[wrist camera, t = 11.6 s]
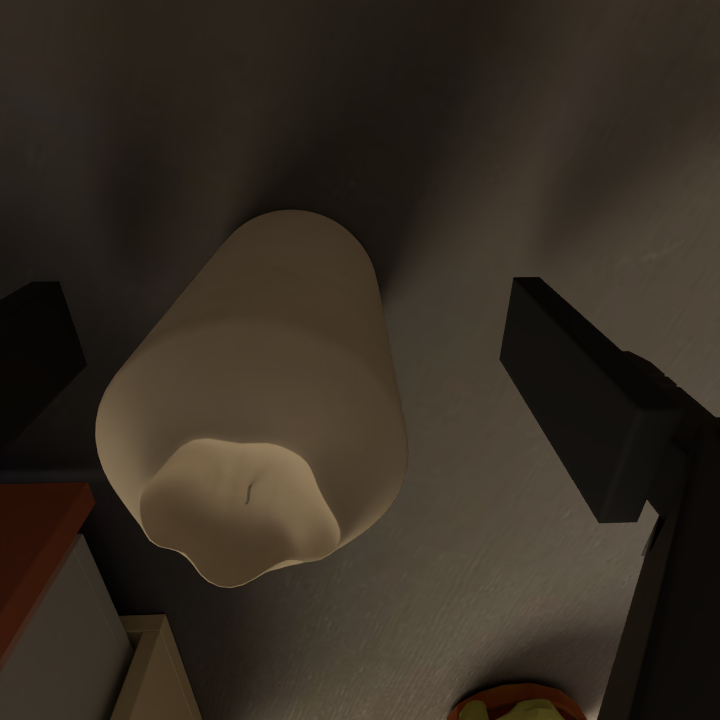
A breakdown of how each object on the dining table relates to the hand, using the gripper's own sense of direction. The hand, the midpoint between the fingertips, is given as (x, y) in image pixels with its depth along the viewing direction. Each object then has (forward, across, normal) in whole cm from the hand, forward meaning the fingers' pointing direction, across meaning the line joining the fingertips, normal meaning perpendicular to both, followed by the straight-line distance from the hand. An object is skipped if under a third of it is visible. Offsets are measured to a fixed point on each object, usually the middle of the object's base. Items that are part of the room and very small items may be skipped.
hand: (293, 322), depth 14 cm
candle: (+2, 0, 0) cm, 3 cm away
